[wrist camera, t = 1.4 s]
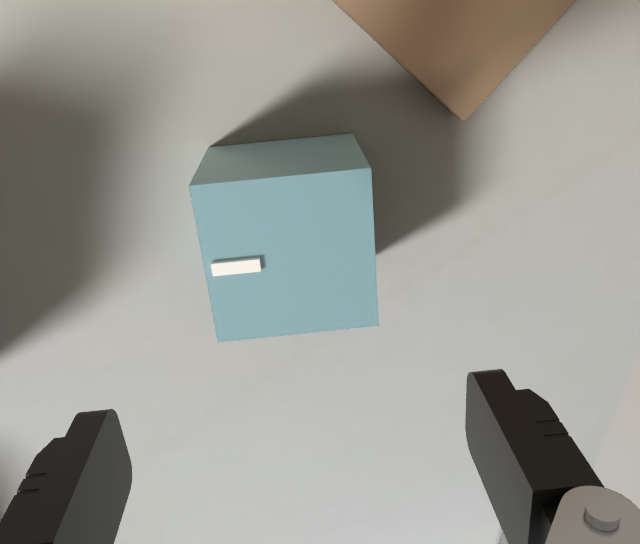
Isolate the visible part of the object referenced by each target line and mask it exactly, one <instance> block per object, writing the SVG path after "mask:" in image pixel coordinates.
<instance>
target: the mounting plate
mask: <svg viewBox="0 0 640 544" xmlns="http://www.w3.org/2000/svg"><path fill="white" fill-rule="evenodd" d="M332 1H334V2H335V3H336V4H337V5H338V6H339V7H340V8H341V9H342V10H343V11H344V12H345V13H346V14H347V15H348V16H349V17H351V18H352V19H353V20H354V21H355V22H356V23H357V24H358V25H359V26H360V27H361V28H362V29H363V30H364V31H365V32H366V33H368V34H369V35H370V36H371V37H372V38H373V39H374V40H375V41H376V42H377V43H378V44H379V45H380V46H381V47H382V48H383V49H384V50H386V51H387V52H388V53H389V54H390V55H391V56H392V57H393V58H394V59H395V60H396V61H397V62H398V63H399V64H400V65H401V66H403V67H404V68H405V69H406V70H407V71H408V72H409V73H410V74H411V75H412V76H413V77H414V78H415V79H416V80H417V81H418V82H420V83H421V84H422V85H423V86H424V87H425V88H426V89H427V90H428V91H429V92H430V93H431V94H432V95H433V96H434V97H435V98H436V99H438V100H439V101H440V102H441V103H442V104H443V105H444V106H445V107H446V108H447V109H448V110H449V111H450V112H451V113H452V114H453V115H455V116H456V117H458V118H459V119H461V120H462V121H464V122H465V121H466V119H467V118H468V117H469V116H470V115H471V114H472V113H473V112H474V111H475V110H476V108H477V107H478V106H479V105H480V104H481V103H482V102H483V101H484V100H485V99H486V98H487V96H488V95H489V94H490V93H491V92H492V91H493V90H494V89H495V88H496V87H497V85H498V84H499V83H500V82H501V81H502V80H503V79H504V78H505V77H506V76H507V75H508V73H509V72H510V71H511V70H512V69H513V68H514V67H515V66H516V65H517V64H518V62H519V61H520V60H521V59H522V58H523V57H524V56H525V55H526V54H527V53H528V51H529V50H530V49H531V48H532V47H533V46H534V45H535V44H536V43H537V42H538V41H539V39H540V38H541V37H542V36H543V35H544V34H545V33H546V32H547V31H548V30H549V28H550V27H551V26H552V25H553V24H554V23H555V22H556V21H557V20H558V19H559V18H560V16H561V15H562V14H563V13H564V12H565V11H566V10H567V9H568V8H569V7H570V5H571V4H572V3H573V2H574V1H575V0H332Z"/></svg>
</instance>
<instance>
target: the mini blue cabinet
mask: <svg viewBox="0 0 640 544" xmlns="http://www.w3.org/2000/svg"><path fill="white" fill-rule="evenodd" d="M189 190H190V195H191V201H192V206H193V211H194V217H195V222H196V227H197V233H198V238H199V244H200V249H201V254H202V260H203V265H204V270H205V276H206V281H207V287H208V292H209V297H210V303H211V308H212V313H213V319H214V324H215V330H216V335H217V340H218V342H225V341H234V340H244V339H254V338H263V337H273V336H283V335H292V334H302V333H312V332H321V331H331V330H341V329H350V328H360V327H370V326H379V321H378V300H377V279H376V258H375V237H374V216H373V195H372V174H371V167H370V165H369V163H368V161H367V159H366V157H365V156H364V154H363V152H362V150H361V148H360V146H359V144H358V143H357V141H356V139H355V137H354V135H353V133H349V134H339V135H329V136H318V137H308V138H298V139H288V140H277V141H267V142H257V143H247V144H236V145H226V146H216V147H208V149H207V151H206V153H205V155H204V157H203V159H202V161H201V163H200V165H199V167H198V169H197V171H196V173H195V175H194V177H193V179H192V181H191V182H190V184H189Z"/></svg>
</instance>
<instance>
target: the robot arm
mask: <svg viewBox="0 0 640 544" xmlns="http://www.w3.org/2000/svg"><path fill="white" fill-rule="evenodd" d="M466 437H467V442H468V447H469V450H470V453H471V456H472V458H473V461H474V463H475V465H476V468H477V470H478V473H479V475H480V477H481V480H482V482H483V485H484V487H485V489H486V492H487V494H488V497H489V499H490V501H491V504H492V506H493V509H494V511H495V513H496V516H497V518H498V520H499V523H500V525H501V528H502V530H503V534H502V536H501V539H500V543H499V544H640V510H639V509H638V508H637V506H636V505H635V504H634V503H632V502H631V501H630V500H629V499H627V498H626V497H624V496H623V495H622V494H619V493H617V492H615V491H612V490H610V489H607V488H604V486H603V485H602V483H601V481H600V480H599V478H598V477H597V475H596V474H595V472H594V471H593V469H592V468H591V466H590V465H589V463H588V462H587V460H586V459H585V457H584V456H583V454H582V453H581V451H580V450H579V448H578V447H577V445H576V444H575V442H574V441H573V439H572V438H571V436H569V435H568V432H567V430H566V429H565V427H564V426H563V424H562V423H561V422H559V418H558V417H557V415H556V414H555V412H554V411H553V409H552V408H551V406H550V405H549V403H548V402H547V401H545V400H544V399H543V398H541V397H540V396H538V395H537V394H536V393H534V392H533V391H531V390H530V389H523V390H515V388H514V386H513V385H512V383H511V381H510V380H509V378H508V376H507V375H506V373H505V372H504V371H503V370H502V369H497V370H488V371H478V372H469V373H468V376H467V393H466ZM131 483H132V466H131V460H130V457H129V453H128V450H127V446H126V443H125V440H124V436H123V433H122V429H121V426H120V422H119V419H118V416H117V414H116V412H115V411H114V410H113V409H109V410H99V411H90V412H80V413H78V414H77V415H76V416H75V418H74V420H73V422H72V424H71V426H70V428H69V430H68V432H67V434H66V436H65V437H62V438H54V439H53V440H52V441H51V442H50V443H49V444H48V445H47V446H46V447H45V448H44V449H43V450H42V451H41V452H39V453H38V454H37V455H36V457H35V458H34V460H33V462H32V464H31V466H30V468H29V470H28V471H27V473H26V478H25V479H23V481H22V483H21V484H20V486H19V488H18V490H17V495H15V496H14V497H13V499H12V501H11V503H10V505H9V507H8V509H7V510H6V512H5V514H4V516H3V518H2V520H1V522H0V544H114V541H115V538H116V535H117V531H118V528H119V525H120V522H121V518H122V515H123V512H124V509H125V505H126V502H127V499H128V496H129V492H130V489H131Z"/></svg>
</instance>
